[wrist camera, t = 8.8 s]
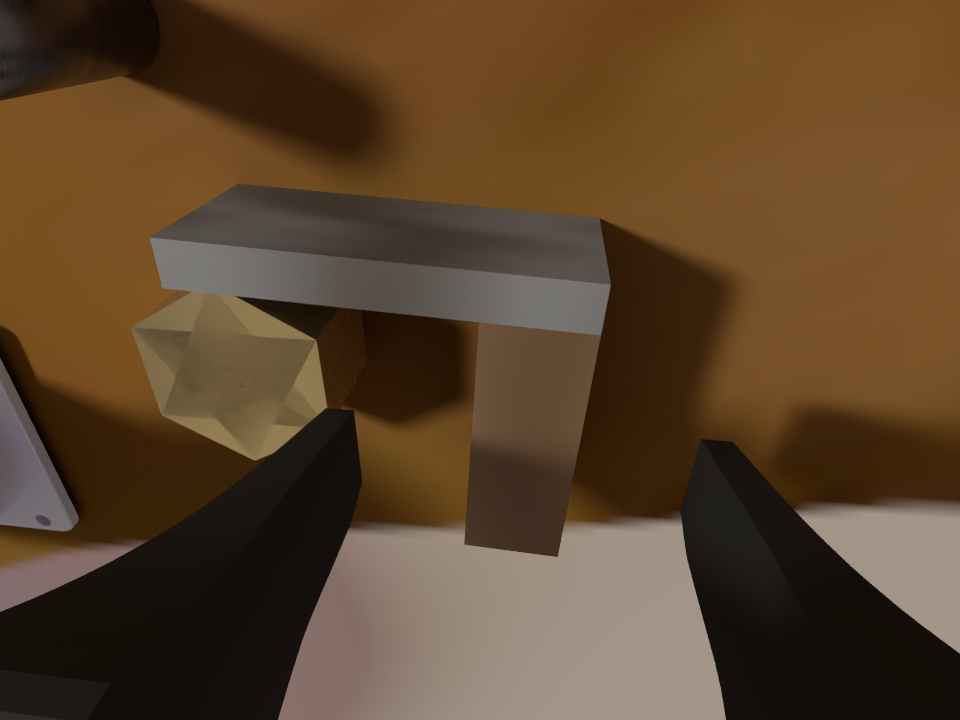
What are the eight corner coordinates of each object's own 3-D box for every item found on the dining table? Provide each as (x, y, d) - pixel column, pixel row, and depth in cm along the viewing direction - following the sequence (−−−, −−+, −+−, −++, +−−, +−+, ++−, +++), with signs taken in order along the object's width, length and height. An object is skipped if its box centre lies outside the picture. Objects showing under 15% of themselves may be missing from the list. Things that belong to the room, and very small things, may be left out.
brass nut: (271, 402, 17) (220, 474, 14) (172, 287, 15) (96, 347, 13) (403, 342, 15) (371, 412, 13) (309, 207, 14) (252, 257, 11)
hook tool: (278, 422, 17) (220, 512, 14) (239, 183, 13) (149, 237, 11) (558, 456, 17) (557, 557, 14) (599, 217, 13) (611, 284, 10)
